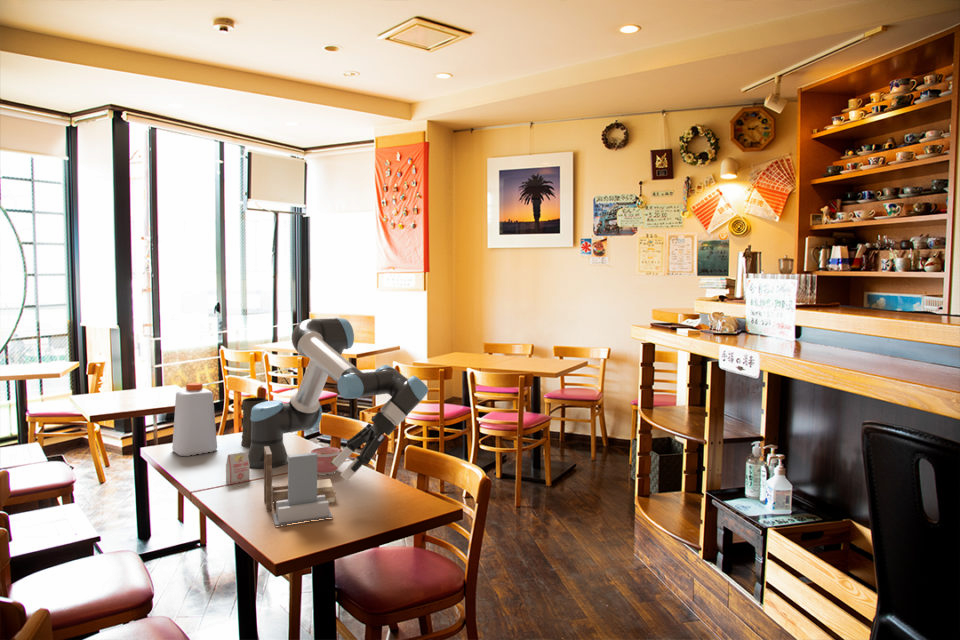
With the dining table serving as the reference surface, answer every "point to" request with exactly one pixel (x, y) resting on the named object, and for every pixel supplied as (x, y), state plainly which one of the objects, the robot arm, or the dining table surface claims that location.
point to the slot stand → (301, 511)
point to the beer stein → (248, 418)
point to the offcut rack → (281, 491)
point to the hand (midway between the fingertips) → (339, 471)
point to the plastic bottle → (194, 421)
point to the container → (326, 459)
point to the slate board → (302, 478)
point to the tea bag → (237, 468)
